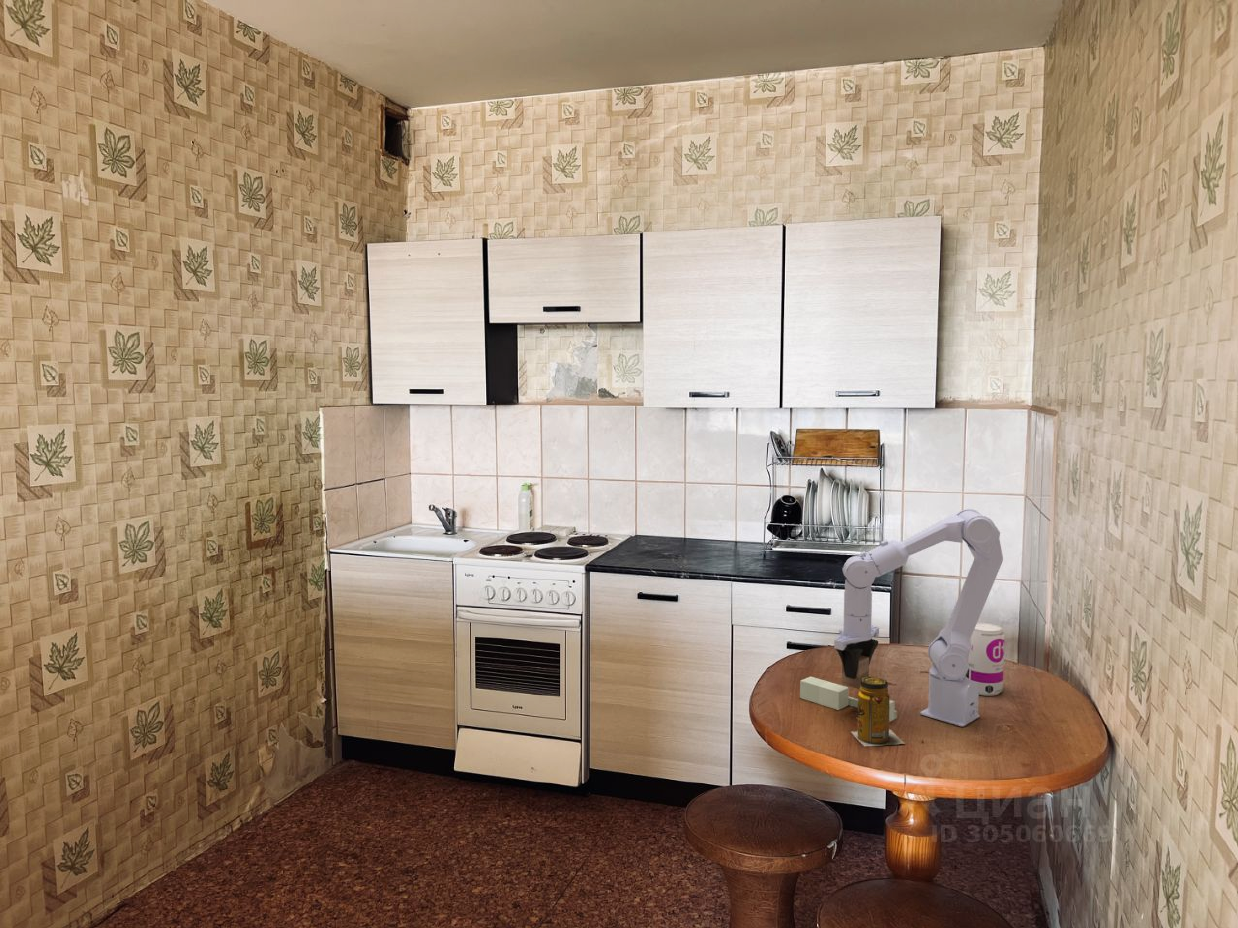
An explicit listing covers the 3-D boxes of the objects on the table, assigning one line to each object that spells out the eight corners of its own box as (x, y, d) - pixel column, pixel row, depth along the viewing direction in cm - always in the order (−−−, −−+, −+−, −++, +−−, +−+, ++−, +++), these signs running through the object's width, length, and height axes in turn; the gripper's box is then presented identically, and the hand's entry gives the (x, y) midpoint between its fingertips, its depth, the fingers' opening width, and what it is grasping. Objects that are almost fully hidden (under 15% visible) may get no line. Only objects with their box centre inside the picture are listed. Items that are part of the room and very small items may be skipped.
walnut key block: (868, 684, 185) (869, 657, 185) (858, 688, 182) (858, 661, 182) (852, 679, 188) (852, 652, 187) (842, 684, 185) (842, 657, 185)
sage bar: (896, 718, 182) (897, 699, 182) (884, 724, 179) (884, 706, 178) (812, 692, 197) (813, 675, 197) (799, 697, 194) (800, 680, 193)
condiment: (850, 732, 175) (851, 675, 174) (890, 730, 176) (891, 673, 175) (863, 747, 168) (865, 688, 167) (905, 745, 169) (907, 686, 168)
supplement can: (1010, 693, 195) (1013, 629, 194) (982, 698, 192) (985, 633, 191) (983, 681, 203) (985, 619, 201) (956, 686, 200) (958, 623, 198)
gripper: (859, 603, 191) (858, 662, 193) (822, 616, 182) (821, 678, 183) (888, 609, 186) (886, 670, 188) (851, 622, 176) (850, 686, 178)
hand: (856, 674), depth 185 cm, fingers closed on walnut key block, 4 cm apart
